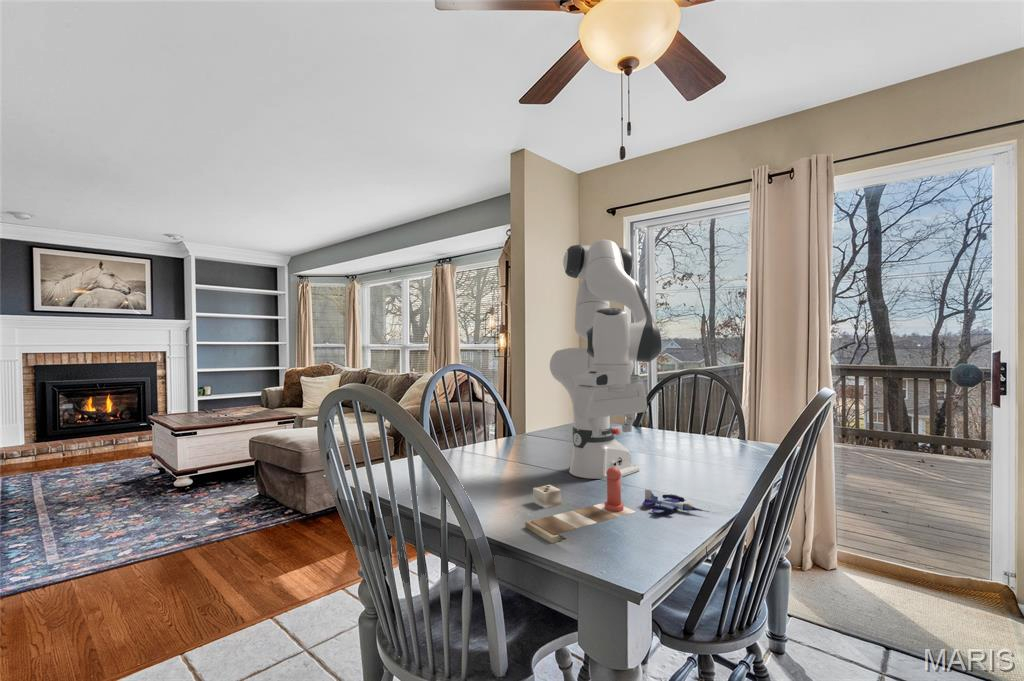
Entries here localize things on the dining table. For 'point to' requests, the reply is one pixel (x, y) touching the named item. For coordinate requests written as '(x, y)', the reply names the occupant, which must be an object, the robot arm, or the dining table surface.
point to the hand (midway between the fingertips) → (612, 434)
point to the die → (547, 496)
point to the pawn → (614, 490)
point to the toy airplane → (668, 503)
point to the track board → (571, 521)
